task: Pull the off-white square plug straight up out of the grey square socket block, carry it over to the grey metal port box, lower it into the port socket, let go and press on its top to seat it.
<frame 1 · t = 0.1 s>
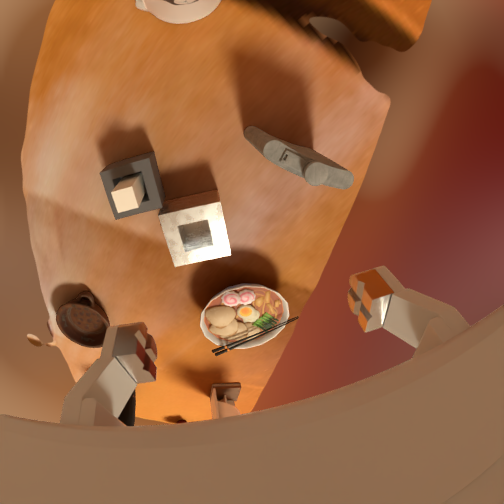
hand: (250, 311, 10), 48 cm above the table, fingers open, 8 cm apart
ramen bowl: (240, 301, 75), on the table
banded cream pillar: (224, 390, 99), on the table
dish: (87, 315, 68), on the table
hip flask: (279, 145, 54), on the table
grey square socket block: (136, 180, 52), on the table
plug: (135, 181, 51), point 1 cm above the table, touching grey square socket block
port box: (195, 220, 60), on the table
portable speaker: (125, 387, 89), on the table
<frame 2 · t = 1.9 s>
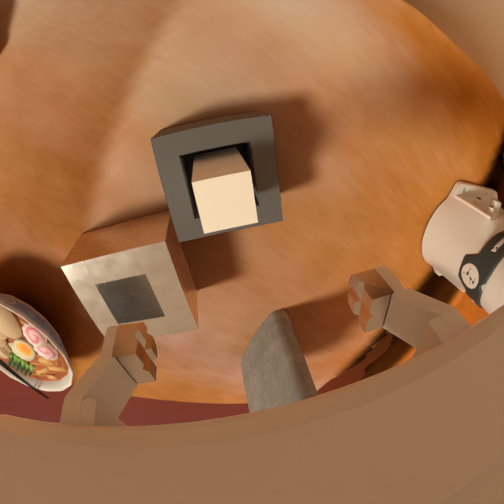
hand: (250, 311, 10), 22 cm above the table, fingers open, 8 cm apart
ramen bowl: (27, 319, 35), on the table
hip flask: (259, 342, 45), on the table
grey square socket block: (217, 164, 28), on the table
plug: (217, 166, 27), point 1 cm above the table, touching grey square socket block
port box: (139, 263, 33), on the table
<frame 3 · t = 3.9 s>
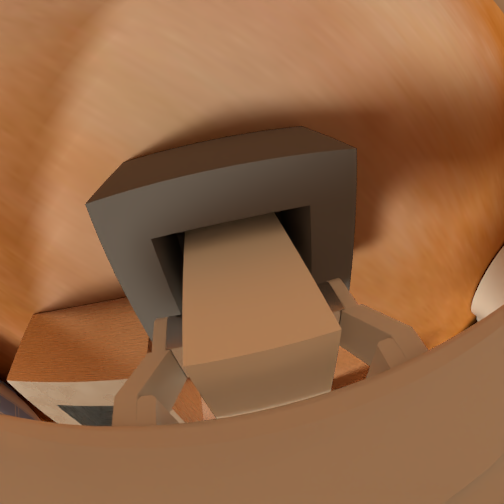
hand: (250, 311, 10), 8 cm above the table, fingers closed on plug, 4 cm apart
grey square socket block: (227, 221, 17), on the table
plug: (229, 229, 16), point 1 cm above the table, touching gripper, grey square socket block
port box: (117, 353, 21), on the table
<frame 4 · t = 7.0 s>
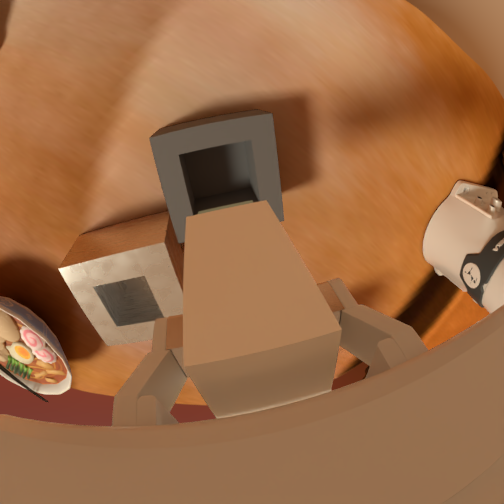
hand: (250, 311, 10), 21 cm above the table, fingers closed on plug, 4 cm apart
ramen bowl: (25, 322, 34), on the table
grey square socket block: (216, 163, 28), on the table
plug: (229, 229, 16), point 15 cm above the table, touching gripper
port box: (138, 265, 32), on the table
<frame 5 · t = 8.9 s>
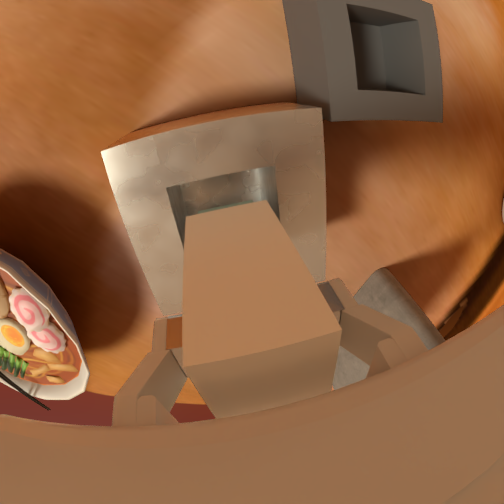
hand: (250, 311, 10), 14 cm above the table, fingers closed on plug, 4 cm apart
ramen bowl: (20, 293, 23), on the table
hip flask: (349, 315, 34), on the table
grey square socket block: (348, 55, 17), on the table
plug: (229, 229, 16), point 8 cm above the table, touching gripper
port box: (220, 185, 22), on the table
when the fingers open (9 cm above the table, at t = 10.3 s): plug stays where it is, resting on port box.
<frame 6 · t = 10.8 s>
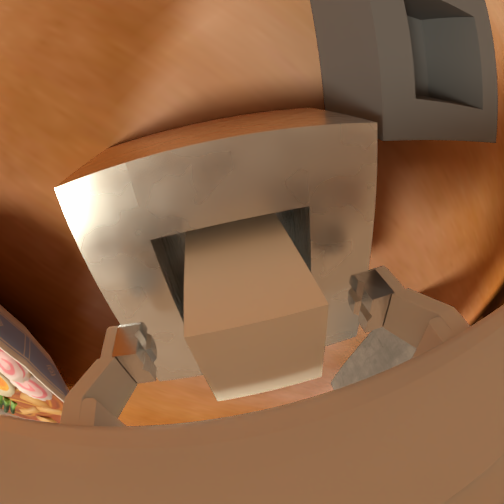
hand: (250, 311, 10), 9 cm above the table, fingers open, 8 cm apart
ramen bowl: (2, 328, 19), on the table
hip flask: (367, 346, 30), on the table
grey square socket block: (385, 51, 13), on the table
plug: (228, 221, 17), point 1 cm above the table, touching port box
port box: (225, 215, 17), on the table
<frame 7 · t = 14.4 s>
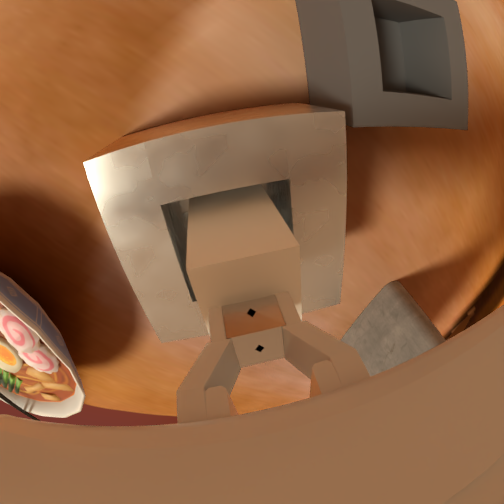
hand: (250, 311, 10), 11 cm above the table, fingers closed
ramen bowl: (11, 308, 21), on the table
hip flask: (358, 329, 32), on the table
grey square socket block: (365, 52, 15), on the table
plug: (225, 201, 19), point 1 cm above the table, touching port box
port box: (223, 196, 20), on the table
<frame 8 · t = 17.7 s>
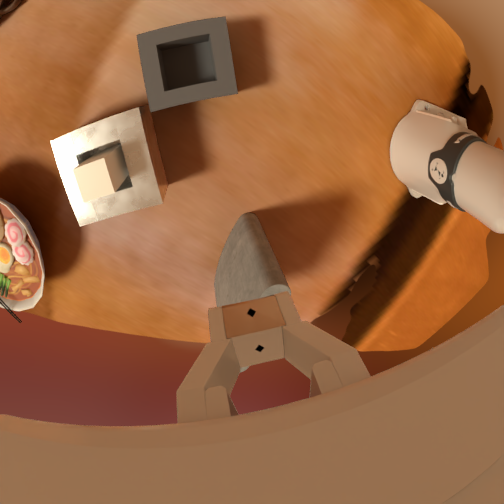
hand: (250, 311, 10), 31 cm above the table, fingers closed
ramen bowl: (12, 235, 36), on the table
hip flask: (232, 254, 46), on the table
grey square socket block: (188, 66, 29), on the table
plug: (117, 158, 33), point 1 cm above the table, touching port box
port box: (118, 157, 34), on the table
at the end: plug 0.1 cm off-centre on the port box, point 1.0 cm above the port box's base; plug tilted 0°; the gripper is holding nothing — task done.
